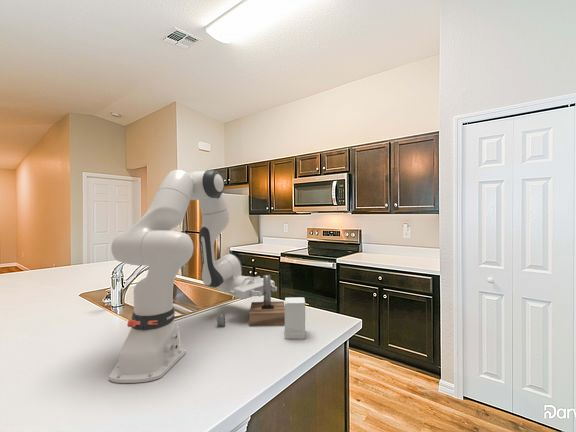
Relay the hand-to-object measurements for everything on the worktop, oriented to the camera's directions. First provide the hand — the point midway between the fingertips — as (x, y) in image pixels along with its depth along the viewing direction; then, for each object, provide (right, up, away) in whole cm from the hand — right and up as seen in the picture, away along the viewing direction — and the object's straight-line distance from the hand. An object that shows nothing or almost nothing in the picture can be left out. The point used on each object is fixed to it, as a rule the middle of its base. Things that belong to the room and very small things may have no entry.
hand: (269, 291), depth 122 cm
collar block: (-1, -11, +1) cm, 12 cm away
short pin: (-18, -12, -6) cm, 23 cm away
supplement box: (+10, -12, -15) cm, 21 cm away
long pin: (-1, -11, +1) cm, 12 cm away
